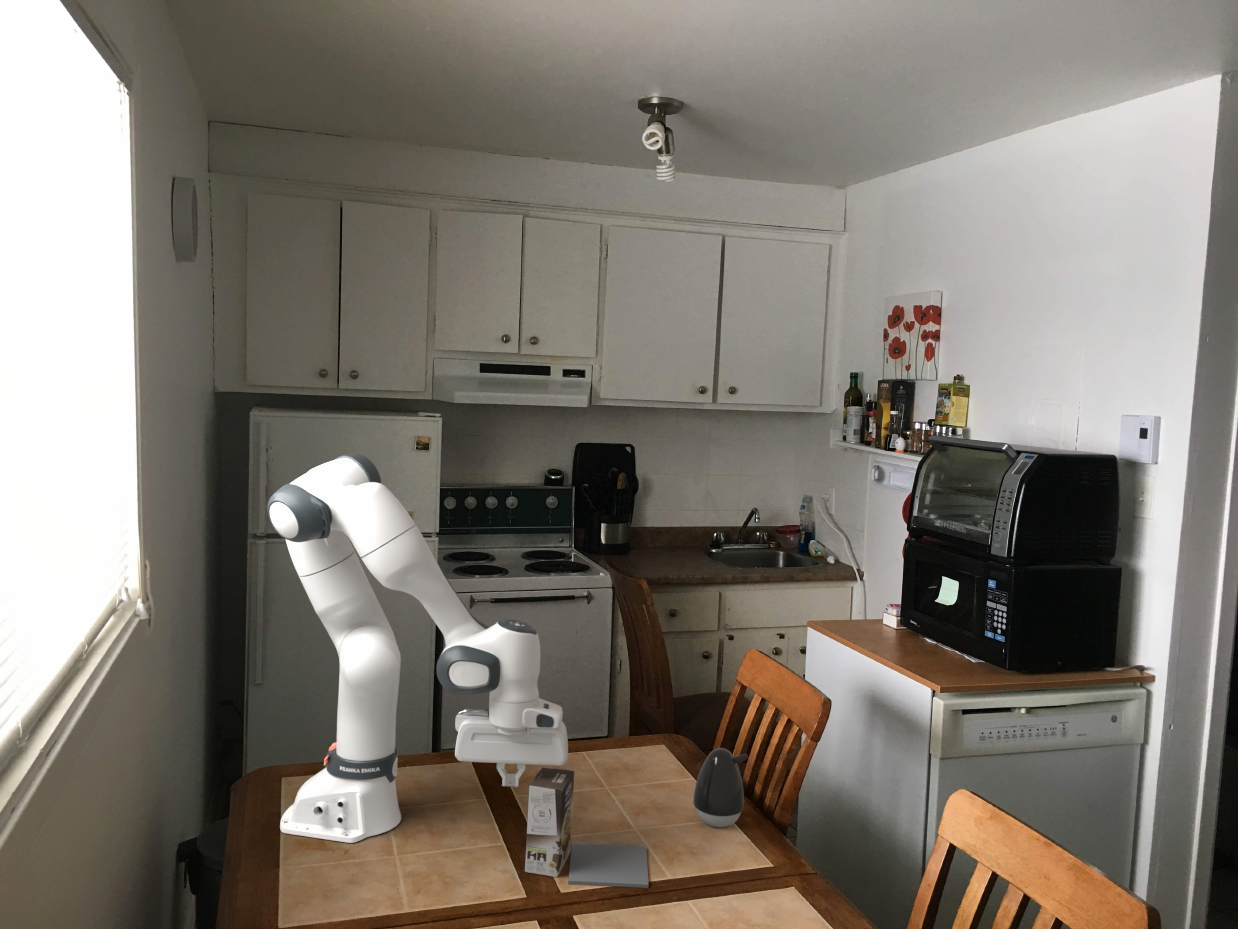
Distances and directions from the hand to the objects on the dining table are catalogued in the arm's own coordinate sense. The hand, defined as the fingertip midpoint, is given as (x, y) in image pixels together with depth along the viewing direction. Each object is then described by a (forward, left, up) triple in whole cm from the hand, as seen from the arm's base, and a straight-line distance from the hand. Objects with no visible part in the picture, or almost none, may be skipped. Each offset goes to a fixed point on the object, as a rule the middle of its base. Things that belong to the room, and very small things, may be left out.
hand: (510, 785), depth 173 cm
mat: (+18, 0, -14) cm, 23 cm away
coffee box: (+7, 0, -14) cm, 16 cm away
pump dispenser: (+40, +20, -14) cm, 47 cm away
